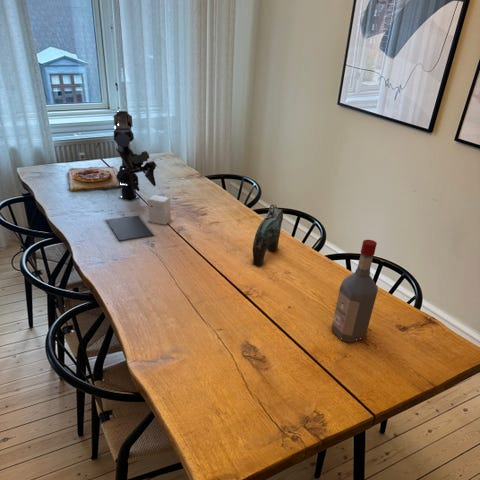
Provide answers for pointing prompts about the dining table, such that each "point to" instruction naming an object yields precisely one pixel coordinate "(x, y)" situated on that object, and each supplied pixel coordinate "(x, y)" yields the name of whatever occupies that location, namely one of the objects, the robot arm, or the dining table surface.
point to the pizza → (92, 178)
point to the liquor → (356, 299)
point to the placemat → (129, 228)
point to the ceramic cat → (267, 235)
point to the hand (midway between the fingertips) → (147, 188)
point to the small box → (159, 209)
